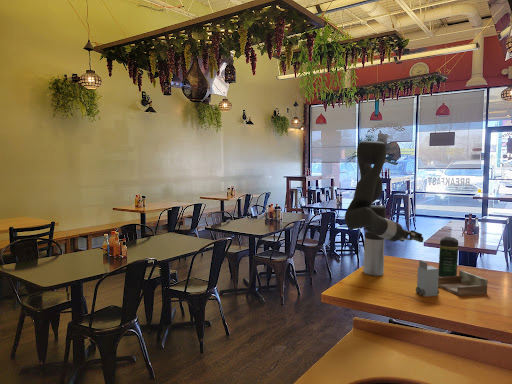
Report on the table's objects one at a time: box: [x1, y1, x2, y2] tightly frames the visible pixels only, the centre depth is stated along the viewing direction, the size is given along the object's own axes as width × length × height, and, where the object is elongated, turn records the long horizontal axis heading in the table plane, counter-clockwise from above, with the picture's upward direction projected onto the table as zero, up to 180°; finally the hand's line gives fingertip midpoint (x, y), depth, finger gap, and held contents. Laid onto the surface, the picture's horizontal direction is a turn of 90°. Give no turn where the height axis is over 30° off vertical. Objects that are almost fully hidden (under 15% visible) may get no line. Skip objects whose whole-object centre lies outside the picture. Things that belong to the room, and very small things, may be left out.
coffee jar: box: [438, 236, 459, 277], centre depth 185 cm, size 10×8×19 cm
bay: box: [438, 269, 488, 297], centre depth 167 cm, size 14×13×6 cm
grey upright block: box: [415, 259, 440, 297], centre depth 160 cm, size 5×7×14 cm
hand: (412, 239), depth 158 cm, fingers open, 8 cm apart
